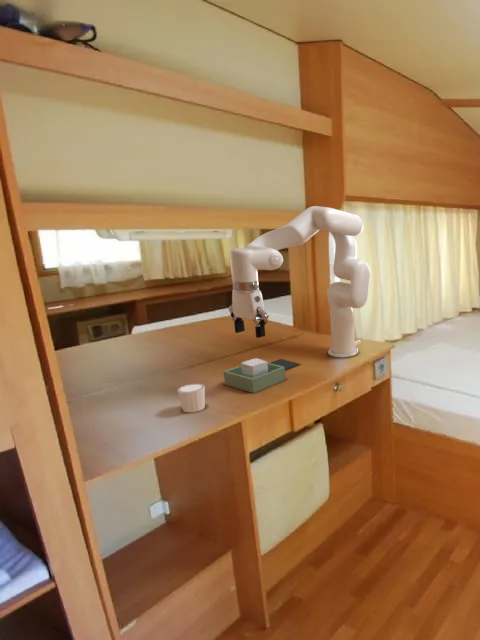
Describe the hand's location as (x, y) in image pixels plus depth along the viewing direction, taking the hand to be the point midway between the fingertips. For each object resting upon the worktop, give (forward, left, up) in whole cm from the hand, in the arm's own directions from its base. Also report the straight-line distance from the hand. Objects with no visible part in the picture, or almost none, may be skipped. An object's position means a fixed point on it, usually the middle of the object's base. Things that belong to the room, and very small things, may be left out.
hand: (250, 334), depth 147 cm
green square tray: (-1, -1, -19) cm, 19 cm away
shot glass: (+22, 0, -19) cm, 29 cm away
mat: (-16, -6, -19) cm, 25 cm away
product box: (-1, -1, -18) cm, 18 cm away
